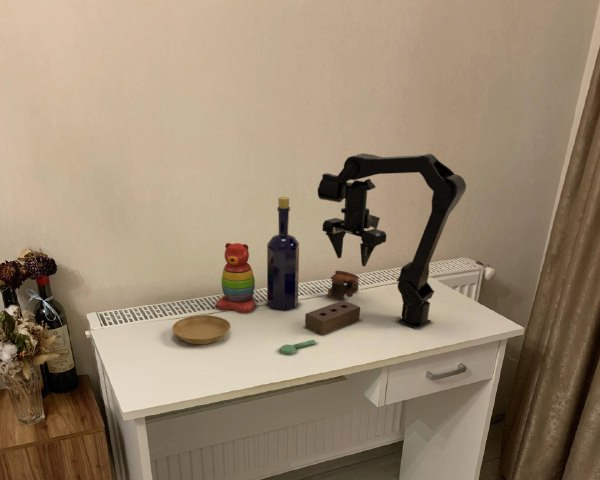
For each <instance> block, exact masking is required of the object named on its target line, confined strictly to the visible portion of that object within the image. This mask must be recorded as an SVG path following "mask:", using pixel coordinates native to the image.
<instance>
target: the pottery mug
mask: <svg viewBox="0 0 600 480" xmlns="http://www.w3.org/2000/svg"><path fill="white" fill-rule="evenodd" d="M334 273H335V274H333V275H332V276H331V277H330V278H329V279H330V280H331V288H328V289H327V296H328V297H331V298H335V299H338V300H341V301H342V300H344V299H345V296H346V297H347V298H351V297H353V296H354V294H356V293H357V292H358V291H359V285H360V283H359V280H360V277H359V276H358V275H357V274H354V273H352V272H348V271H343V270H336V271H334Z"/></svg>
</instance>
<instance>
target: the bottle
mask: <svg viewBox="0 0 600 480" xmlns="http://www.w3.org/2000/svg"><path fill="white" fill-rule="evenodd" d="M277 201H278V202H277V203H278V204H277V205H278V206H277V212H278V213H277V214H278V233H277V234H274V235H272V237H271V238H270V240H269V241H268V242H267V244H266V248H267V249H266V253H267V254H266V255H267V256H266V257H267V258H266V268H267V269H266V271H267V273H266V281H267V282H266V283H267V285H266V290H267V291H266V293H267V295H266V296H267V297H266V306H267V307H269V308H270V309H272V310H275V311H291V310H294V309H296V308H297V307H298V306H299V276H300V275H299V271H300V242H299V241H298V239H296V237H295V236H293V235H292V234H289V219H290V211H291V207H290V197H288V196H279V197H278V200H277Z"/></svg>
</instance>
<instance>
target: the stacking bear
mask: <svg viewBox="0 0 600 480" xmlns="http://www.w3.org/2000/svg"><path fill="white" fill-rule="evenodd" d="M224 247H225V250H224V260H225V262H226V263H225V265H224V266H223V271H222V276H221V283H220V284H221V290H222V293H223V296H222V297H221V298H219V299H218V300H217V301H216V302H215V307H216V308H217V309H218V310H231V311H232V310H233V311H236V312H238V313H240V314H241V313H242V314H248V313H251V312H252V311H254V309H255V308H256V302H255V299H254V294H255V287H256V284H255V283H256V280H255V276H254V271H253V269H252V266H251V265H250V264H249V263H248V262H249V259H250V258H249V257H250V252H249V245H248V244H246V243H244V244H242V243H239V242H235V243H231V242H226V243H225V246H224Z"/></svg>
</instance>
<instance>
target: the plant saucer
mask: <svg viewBox="0 0 600 480" xmlns="http://www.w3.org/2000/svg"><path fill="white" fill-rule="evenodd" d="M231 328H232V327H231V323H230V322H229V320H227V319H226V318H223V317H221V316H217V315H210V314H209V315H208V314H200V315H199V314H198V315H191V316H187V317H184V318H181V319H179V320H177V321H176V322H175V323H174V324H173V325H172V327H171V330H172V332H173V333H174V334H175V335H176V336H177V337H178V338H179V339H181V340H182V341H183V342H185V343H188V344H193V345H208V344H213V343H215V342H218V341H219V340H221V339H222V338H224V337H225V336H226V335H227V334H228V332H229V331H230V329H231Z"/></svg>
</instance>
